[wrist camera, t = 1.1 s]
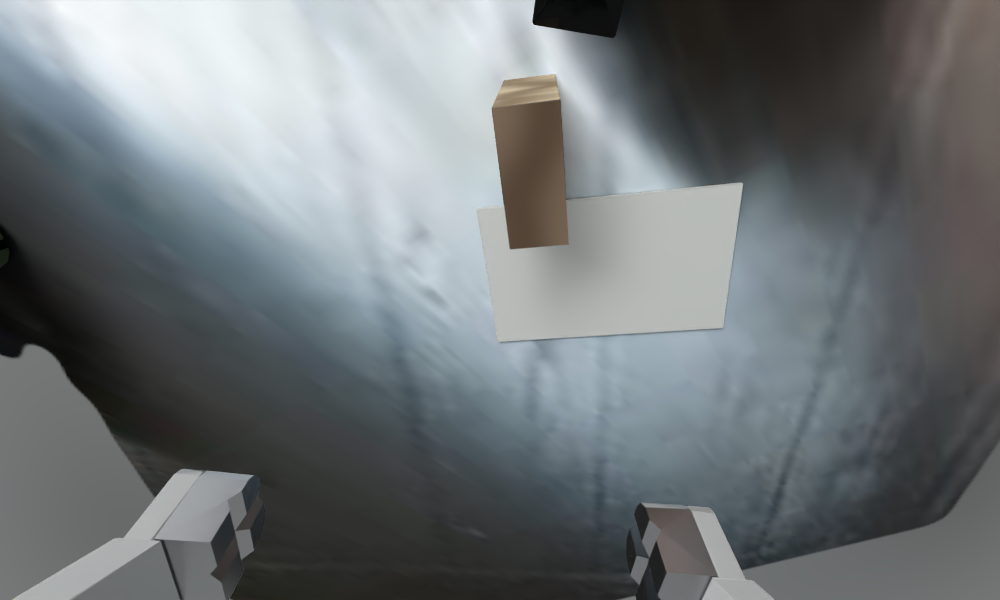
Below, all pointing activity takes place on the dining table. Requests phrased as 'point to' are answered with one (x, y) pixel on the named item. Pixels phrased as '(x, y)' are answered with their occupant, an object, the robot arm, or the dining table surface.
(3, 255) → the character mug
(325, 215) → the dining table surface
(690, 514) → the robot arm
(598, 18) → the black box
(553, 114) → the oak slab
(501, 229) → the felt mat
